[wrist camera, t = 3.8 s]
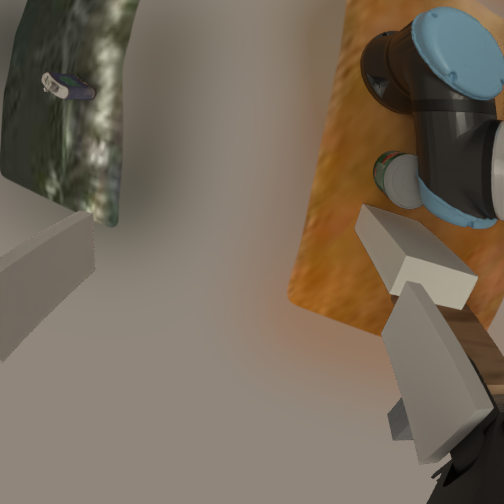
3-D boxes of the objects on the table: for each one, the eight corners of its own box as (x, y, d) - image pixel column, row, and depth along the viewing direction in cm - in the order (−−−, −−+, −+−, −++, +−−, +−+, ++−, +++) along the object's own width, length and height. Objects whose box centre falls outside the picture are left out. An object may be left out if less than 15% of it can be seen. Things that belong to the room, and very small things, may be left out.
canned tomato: (382, 201, 49) (395, 217, 39) (365, 160, 47) (375, 166, 37) (420, 185, 46) (441, 197, 36) (404, 144, 44) (423, 146, 34)
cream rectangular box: (362, 203, 50) (406, 255, 30) (418, 221, 49) (478, 277, 29) (352, 234, 52) (385, 301, 32) (407, 250, 52) (457, 316, 32)
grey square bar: (403, 394, 28) (411, 421, 24) (515, 393, 27) (525, 410, 24) (387, 414, 29) (392, 440, 26) (501, 410, 29) (509, 427, 25)
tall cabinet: (402, 273, 54) (465, 385, 27) (452, 286, 54) (520, 383, 26) (388, 302, 57) (436, 419, 30) (438, 313, 57) (493, 414, 29)
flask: (98, 91, 46) (63, 89, 36) (91, 103, 47) (56, 104, 37) (72, 72, 44) (38, 69, 34) (66, 84, 45) (31, 83, 36)
